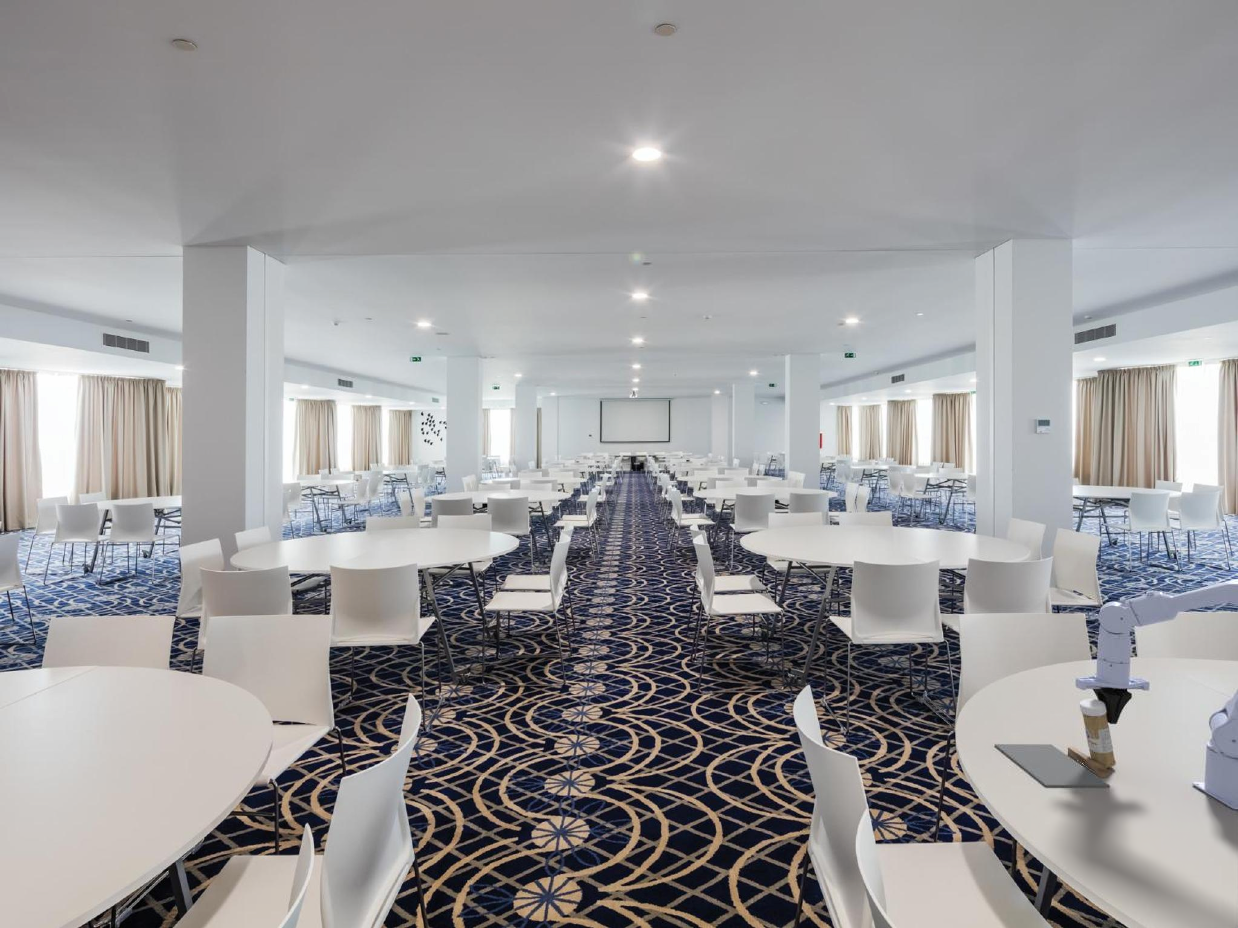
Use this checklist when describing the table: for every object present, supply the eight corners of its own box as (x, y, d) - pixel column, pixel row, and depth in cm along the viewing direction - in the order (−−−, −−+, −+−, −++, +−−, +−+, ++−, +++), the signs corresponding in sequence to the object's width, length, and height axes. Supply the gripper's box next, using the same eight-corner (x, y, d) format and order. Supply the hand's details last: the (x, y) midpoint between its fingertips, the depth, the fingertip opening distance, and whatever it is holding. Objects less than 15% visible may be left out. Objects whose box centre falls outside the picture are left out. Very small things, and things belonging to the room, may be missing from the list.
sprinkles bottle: (1085, 760, 149) (1074, 701, 148) (1104, 755, 149) (1093, 696, 148) (1102, 770, 144) (1090, 709, 143) (1122, 765, 144) (1110, 704, 144)
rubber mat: (1109, 786, 137) (1109, 784, 137) (1045, 786, 137) (1045, 784, 137) (1051, 746, 155) (1051, 744, 155) (994, 745, 155) (994, 743, 155)
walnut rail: (1107, 776, 141) (1107, 769, 141) (1100, 776, 141) (1100, 769, 141) (1074, 754, 151) (1074, 747, 151) (1067, 754, 151) (1068, 747, 151)
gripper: (1132, 653, 150) (1129, 714, 150) (1067, 652, 149) (1064, 713, 150) (1158, 664, 143) (1155, 728, 143) (1090, 663, 142) (1086, 727, 143)
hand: (1110, 722), depth 146 cm, fingers closed
